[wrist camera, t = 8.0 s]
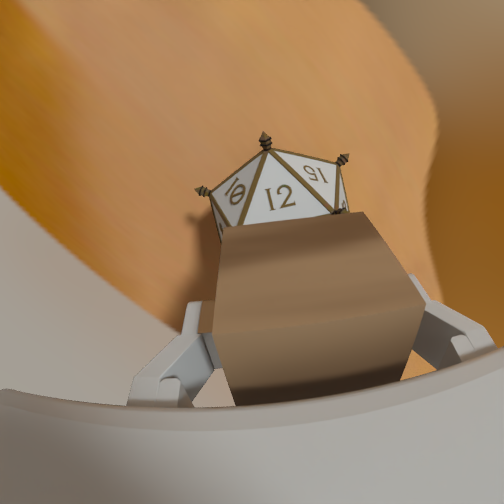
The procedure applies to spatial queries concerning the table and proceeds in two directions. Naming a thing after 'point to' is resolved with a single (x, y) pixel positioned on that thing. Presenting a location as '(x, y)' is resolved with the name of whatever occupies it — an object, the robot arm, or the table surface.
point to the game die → (278, 189)
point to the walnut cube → (311, 309)
